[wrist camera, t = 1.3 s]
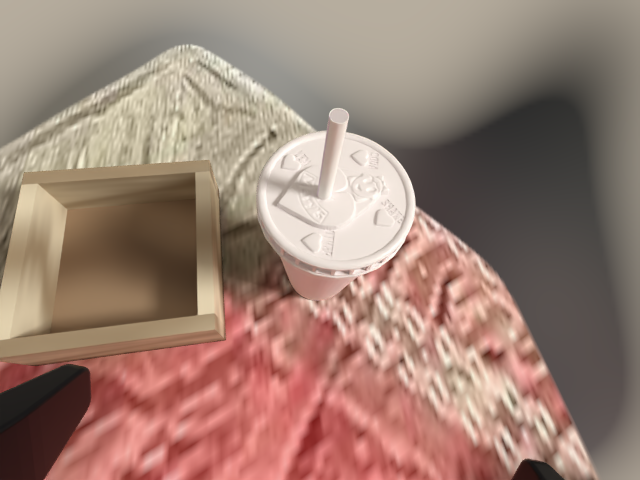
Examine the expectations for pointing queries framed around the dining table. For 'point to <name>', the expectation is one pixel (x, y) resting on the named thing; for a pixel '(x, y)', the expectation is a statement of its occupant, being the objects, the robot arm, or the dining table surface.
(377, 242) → the smoothie
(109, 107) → the dining table surface
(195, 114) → the dining table surface
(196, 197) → the cup holder
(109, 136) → the dining table surface
